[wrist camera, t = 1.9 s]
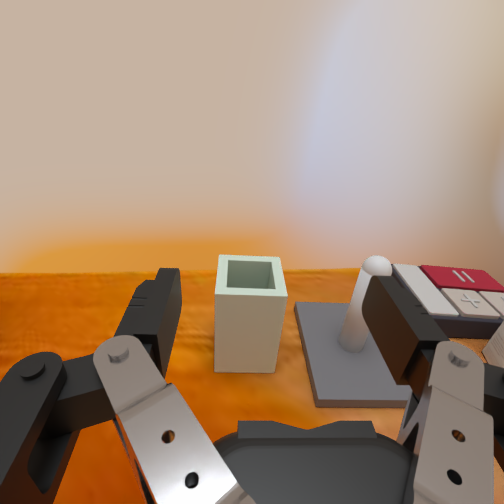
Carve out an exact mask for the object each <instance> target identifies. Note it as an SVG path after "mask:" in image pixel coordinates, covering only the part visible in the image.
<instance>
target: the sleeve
mask: <svg viewBox="0 0 504 504" xmlns="http://www.w3.org/2000/svg"><path fill="white" fill-rule="evenodd" d="M287 297H288V296H287V291H286V286H285V281H284V276H283V271H282V267H281V262H280V257H263V256H240V255H239V256H238V255H219V261H218V271H217V280H216V289H215V343H214V372H235V373H274V372H275V366H276V360H277V355H278V349H279V343H280V338H281V332H282V326H283V320H284V315H285V309H286V303H287Z"/></svg>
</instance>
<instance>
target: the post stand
mask: <svg viewBox="0 0 504 504" xmlns="http://www.w3.org/2000/svg"><path fill="white" fill-rule="evenodd" d="M391 274H392V266H391V264H390V262H389V261H388V260H387V259H386V258H384V257H382V256H378V255H375V256H371V257H369V258H367V259H366V260H365V261H364V262H363V264H362V267H361V270H360V273H359V276H358V280H357V283H356V286H355V289H354V292H353V295H352V298H351V301H350V304H348V303H317V302H295V307H294V310H295V315H296V319H297V324H298V328H299V333H300V337H301V342H302V346H303V351H304V355H305V360H306V364H307V369H308V373H309V378H310V382H311V387H312V391H313V396H314V400H315V405H316V407H363V408H406V405H407V401H408V398H409V395H410V393H411V391H412V389H411V387H410V385H396V383H395V381H394V379H393V377H392V375H391V373H390V371H389V369H388V367H387V365H386V363H385V361H384V359H383V357H382V355H381V353H380V351H379V349H378V347H377V345H376V343H375V341H374V339H373V337H372V335H371V333H370V331H369V329H368V327H367V325H366V323H365V321H364V318H363V316H362V302H363V299H364V296H365V293H366V290H367V287H368V284H369V281H370V279H371V277H372V276H373V275H380V276H391Z"/></svg>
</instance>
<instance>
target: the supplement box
mask: <svg viewBox="0 0 504 504" xmlns="http://www.w3.org/2000/svg"><path fill="white" fill-rule="evenodd" d="M482 353H483V355H484V356H485V358H486V360H487V362H488V364H490V365H494V366H498V367H502V368H504V321H503V322H502V324H501V325H500V327H499V328H498V329H497V331H496V332H495V333H494V335H493V336H492V338H491V339H490V340H489V342H488V343H487V345H486V346H485V347H484V349H483V350H482Z"/></svg>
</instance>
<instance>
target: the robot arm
mask: <svg viewBox="0 0 504 504" xmlns="http://www.w3.org/2000/svg"><path fill="white" fill-rule="evenodd" d="M181 306H182V295H181V282H180V271H179V269H178V268H160V269H159V270H158V273H157V275H156V278H155V280H145V281H144V282H143V283H142V284H140V285H139V286H138V287H137V288H136V290H135V292H134V294H133V296H132V299H131V301H130V303H129V305H128V307H127V309H126V311H125V313H124V316H123V318H122V320H121V322H120V324H119V326H118V328H117V330H116V333H115V335H114V337H113V338H110V339H108V340H106V341H105V342H103V343H102V344H101V345H100V346H99V347H98V348H97V349H96V351H95V353H93V354H90V355H87V356H84V357H79V358H75V359H71V360H67V361H63V362H62V359H61V357H60V356H59V355H58V354H56V353H53V352H40V353H36V354H32V355H30V356H27V357H25V358H24V359H22V360H20V361H19V362H17V363H16V364H15V365H13V366H12V367H11V368H10V369H9V371H8V372H7V373H6V375H5V376H4V378H3V379H2V381H1V382H0V504H53V502H54V499H55V496H56V494H57V491H58V489H59V486H60V483H61V481H62V478H63V475H64V473H65V470H66V467H67V465H68V462H69V459H70V457H71V454H72V452H73V449H74V446H75V444H76V441H77V438H78V436H79V433H80V430H81V429H83V428H86V427H90V426H93V425H96V424H99V423H102V422H106V421H109V420H112V421H113V423H114V426H115V428H116V430H117V433H118V435H119V438H120V440H121V442H122V445H123V447H124V450H125V452H126V454H127V457H128V459H129V462H130V464H131V466H132V469H133V472H134V474H135V477H136V480H137V483H138V485H139V488H140V490H141V493H142V495H143V498H144V500H145V502H146V504H494V457H495V458H496V460H497V462H498V463H499V465H500V467H501V468H502V470H503V472H504V368H502V367H498V366H494V365H490V364H486V363H483V362H482V360H481V359H480V357H479V356H478V355H477V354H476V353H474V352H473V351H472V350H471V349H469V348H467V347H466V346H464V345H462V344H459V343H456V342H452V341H450V340H449V339H448V337H447V336H446V335H445V334H444V332H443V331H442V330H441V328H440V327H439V326H438V325H437V323H436V322H435V321H434V319H433V318H432V317H431V316H430V315H429V313H428V312H427V310H426V309H425V308H424V307H423V305H422V304H421V303H420V301H419V300H418V299H417V297H416V296H415V295H413V294H412V293H411V292H409V291H408V290H406V289H405V288H401V286H400V285H399V284H398V282H397V281H396V279H395V278H394V277H393V276H380V275H373V276H372V277H371V279H370V281H369V284H368V287H367V290H366V293H365V296H364V299H363V302H362V316H363V318H364V321H365V323H366V325H367V327H368V329H369V331H370V333H371V335H372V337H373V339H374V341H375V343H376V345H377V347H378V349H379V351H380V353H381V355H382V357H383V359H384V361H385V363H386V365H387V367H388V369H389V371H390V373H391V375H392V377H393V379H394V381H395V383H396V385H410V387H411V389H412V391H411V393H410V395H409V398H408V401H407V405H406V409H405V412H404V416H403V420H402V424H401V427H400V431H399V434H398V438H397V440H396V441H395V440H393V439H391V438H389V437H387V436H384V435H382V434H379V433H376V432H375V429H374V427H373V424H372V421H337V422H334V423H330V424H327V425H323V426H320V427H317V428H313V429H310V430H305V429H301V428H297V427H293V426H290V425H286V424H282V423H278V422H274V421H238V430H237V432H234V433H231V434H228V435H226V436H224V437H222V438H220V439H219V440H217V441H215V442H214V443H213V444H212V442H211V441H210V439H209V438H208V436H207V434H206V433H205V431H204V430H203V428H202V427H201V425H200V424H199V422H198V421H197V419H196V417H195V416H194V414H193V413H192V411H191V410H190V408H189V407H188V405H187V403H186V402H185V400H184V399H183V397H182V396H181V394H180V393H179V391H178V390H177V388H176V387H175V386H174V385H173V384H172V383H169V384H167V383H166V382H165V375H166V371H167V367H168V363H169V359H170V355H171V351H172V346H173V342H174V338H175V334H176V330H177V326H178V322H179V317H180V313H181Z"/></svg>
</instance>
